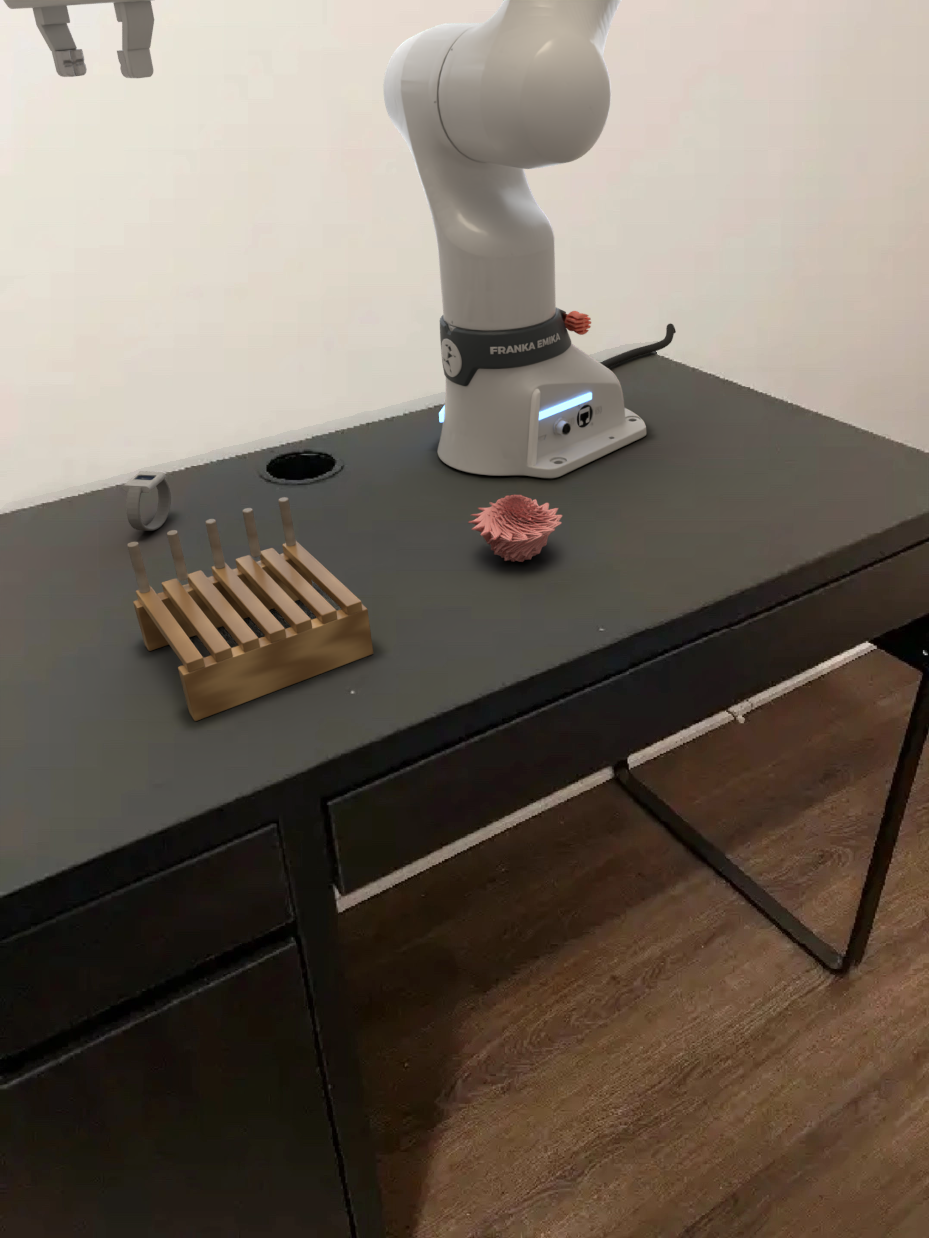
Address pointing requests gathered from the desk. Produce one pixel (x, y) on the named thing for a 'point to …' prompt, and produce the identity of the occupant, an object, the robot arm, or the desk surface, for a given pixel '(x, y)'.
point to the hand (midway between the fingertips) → (104, 77)
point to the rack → (250, 595)
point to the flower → (516, 526)
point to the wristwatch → (145, 484)
